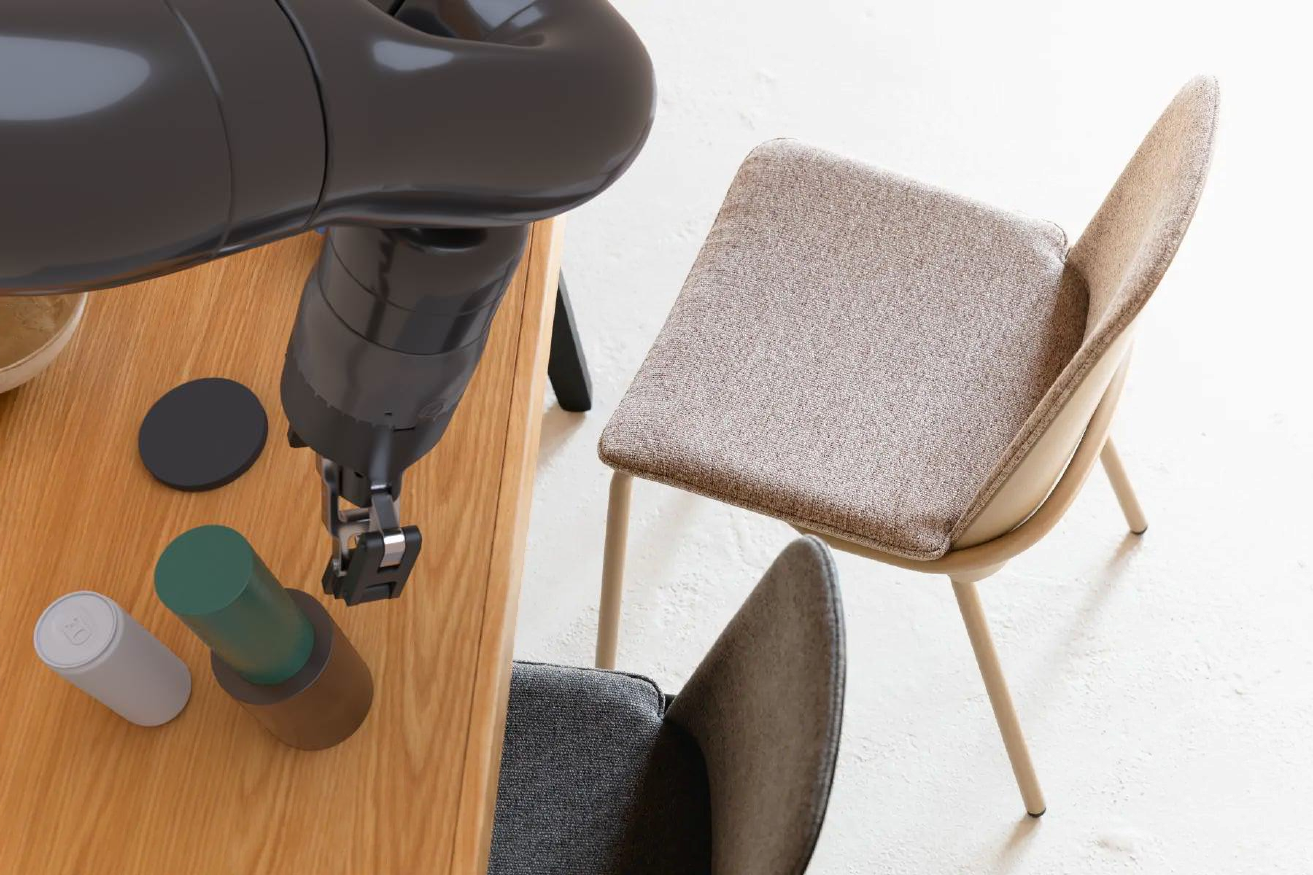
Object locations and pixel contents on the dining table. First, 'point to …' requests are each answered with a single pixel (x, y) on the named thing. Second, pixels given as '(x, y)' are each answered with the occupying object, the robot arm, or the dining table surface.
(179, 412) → the mat
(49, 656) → the beverage can
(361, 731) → the dining table surface
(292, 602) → the tea tin
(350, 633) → the dining table surface
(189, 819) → the dining table surface
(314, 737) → the stand
